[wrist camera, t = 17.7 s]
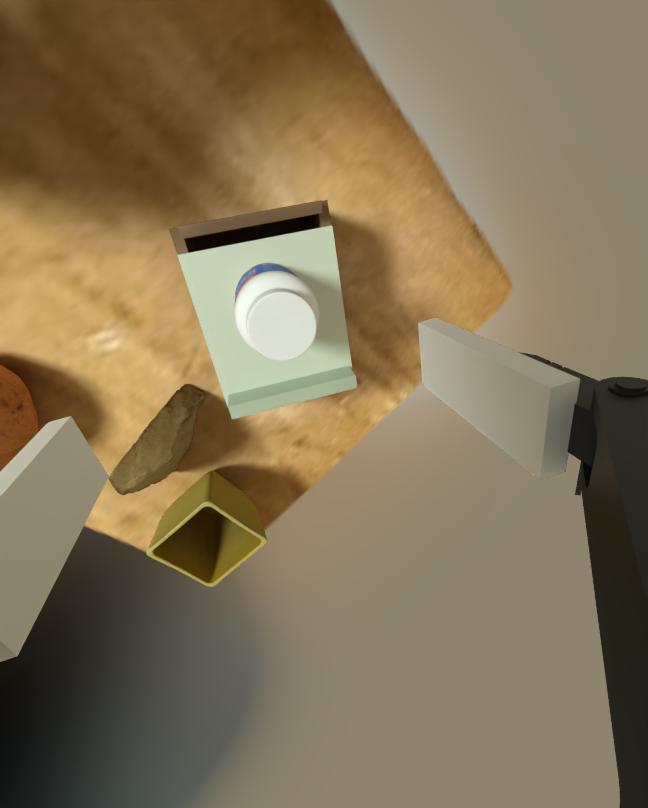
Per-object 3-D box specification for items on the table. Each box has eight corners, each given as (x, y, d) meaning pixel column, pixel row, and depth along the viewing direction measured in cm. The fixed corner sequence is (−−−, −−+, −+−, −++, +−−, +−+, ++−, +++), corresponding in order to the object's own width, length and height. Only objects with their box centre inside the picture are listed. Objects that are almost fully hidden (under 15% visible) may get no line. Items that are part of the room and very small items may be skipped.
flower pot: (263, 489, 46) (269, 542, 38) (215, 530, 47) (211, 589, 39) (212, 450, 42) (206, 500, 34) (160, 495, 43) (143, 554, 35)
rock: (174, 362, 35) (83, 420, 34) (210, 428, 31) (111, 496, 30) (222, 404, 44) (153, 451, 44) (254, 459, 41) (179, 510, 40)
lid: (178, 254, 27) (171, 257, 24) (330, 225, 28) (340, 224, 25) (228, 404, 33) (227, 420, 30) (351, 373, 34) (361, 386, 31)
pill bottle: (241, 253, 27) (244, 262, 18) (309, 272, 28) (341, 289, 20) (229, 324, 29) (226, 362, 20) (293, 338, 30) (316, 379, 22)
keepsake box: (181, 230, 32) (165, 228, 25) (310, 206, 34) (331, 198, 26) (226, 372, 38) (224, 404, 31) (333, 347, 40) (355, 372, 33)
